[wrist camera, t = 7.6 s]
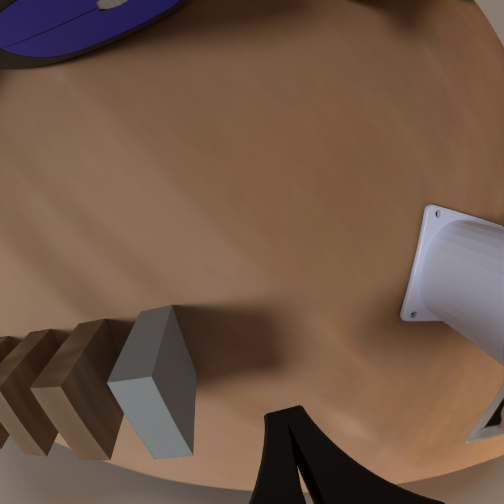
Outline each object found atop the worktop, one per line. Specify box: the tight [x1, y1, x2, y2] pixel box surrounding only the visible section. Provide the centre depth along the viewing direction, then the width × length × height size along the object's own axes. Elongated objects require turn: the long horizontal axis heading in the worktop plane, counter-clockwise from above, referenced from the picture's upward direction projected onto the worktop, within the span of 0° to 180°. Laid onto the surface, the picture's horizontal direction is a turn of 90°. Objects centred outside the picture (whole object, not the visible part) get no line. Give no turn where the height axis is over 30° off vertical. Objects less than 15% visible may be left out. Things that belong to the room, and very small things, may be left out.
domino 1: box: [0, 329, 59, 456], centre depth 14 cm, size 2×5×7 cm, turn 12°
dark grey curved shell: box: [0, 0, 188, 69], centre depth 8 cm, size 16×5×9 cm, turn 90°
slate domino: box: [107, 305, 197, 459], centre depth 15 cm, size 2×5×7 cm, turn 12°
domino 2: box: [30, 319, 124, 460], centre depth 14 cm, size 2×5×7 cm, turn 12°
